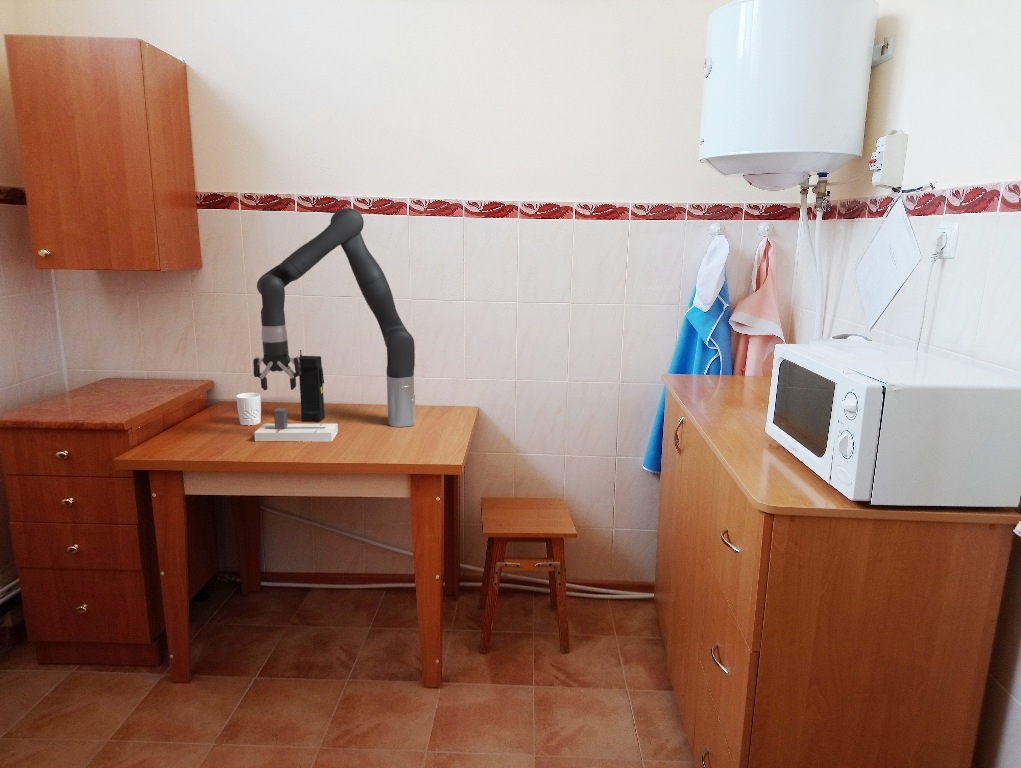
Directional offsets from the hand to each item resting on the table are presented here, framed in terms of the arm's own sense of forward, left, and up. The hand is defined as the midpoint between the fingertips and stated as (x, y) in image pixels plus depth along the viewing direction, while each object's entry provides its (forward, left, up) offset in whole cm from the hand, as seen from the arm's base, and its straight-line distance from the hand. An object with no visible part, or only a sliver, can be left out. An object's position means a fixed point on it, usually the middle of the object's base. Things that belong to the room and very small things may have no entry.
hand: (279, 389), depth 220 cm
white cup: (+15, -16, -16) cm, 27 cm away
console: (-5, 0, -16) cm, 17 cm away
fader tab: (0, 0, -13) cm, 13 cm away
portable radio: (-6, -20, -16) cm, 26 cm away
